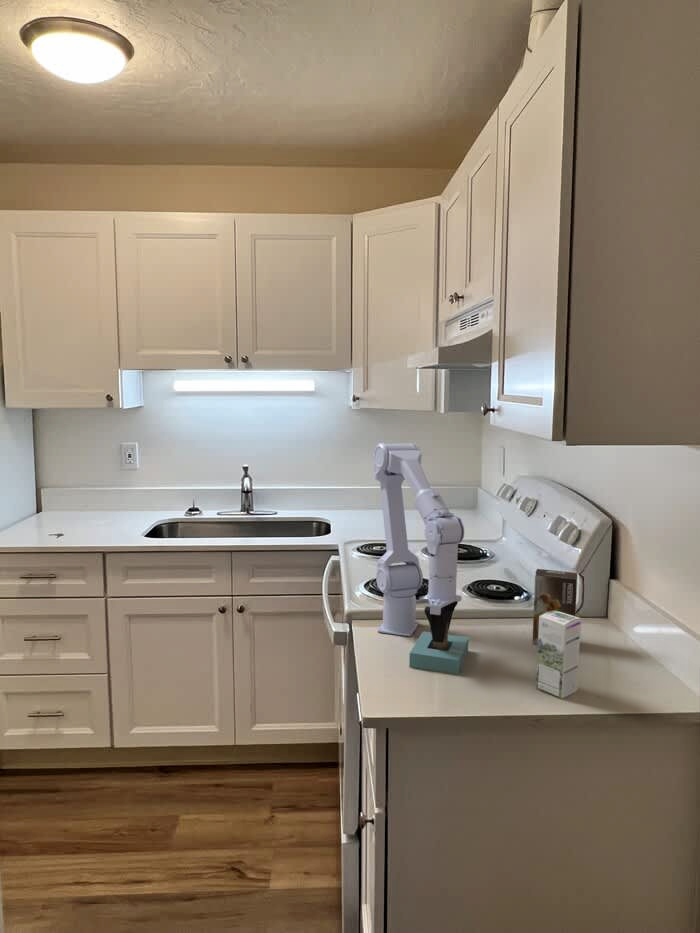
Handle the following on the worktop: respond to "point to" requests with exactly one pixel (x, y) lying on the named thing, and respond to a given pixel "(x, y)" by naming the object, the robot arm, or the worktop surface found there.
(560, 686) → the syrup box
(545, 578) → the coffee box
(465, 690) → the worktop surface
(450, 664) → the hole block
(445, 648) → the walnut peg
